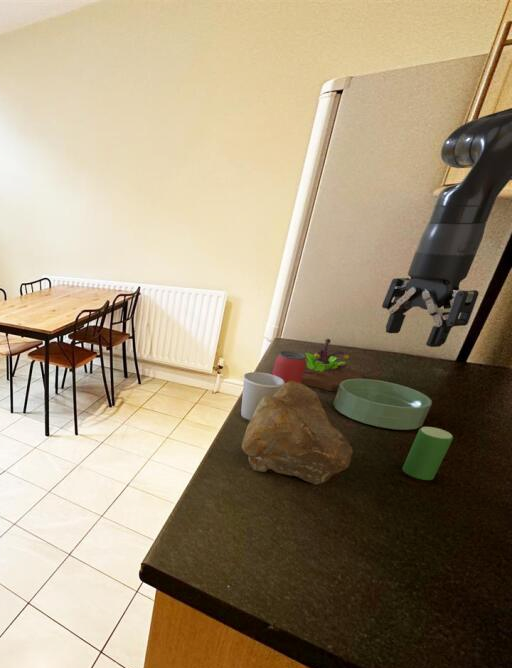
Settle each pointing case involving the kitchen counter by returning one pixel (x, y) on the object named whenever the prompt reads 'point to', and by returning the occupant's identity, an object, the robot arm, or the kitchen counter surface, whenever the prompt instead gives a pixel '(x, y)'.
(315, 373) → the plant
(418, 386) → the kitchen counter surface
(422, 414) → the bowl
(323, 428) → the rough brown rock
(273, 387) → the dixie cup
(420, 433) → the green cylinder
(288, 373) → the beer can
